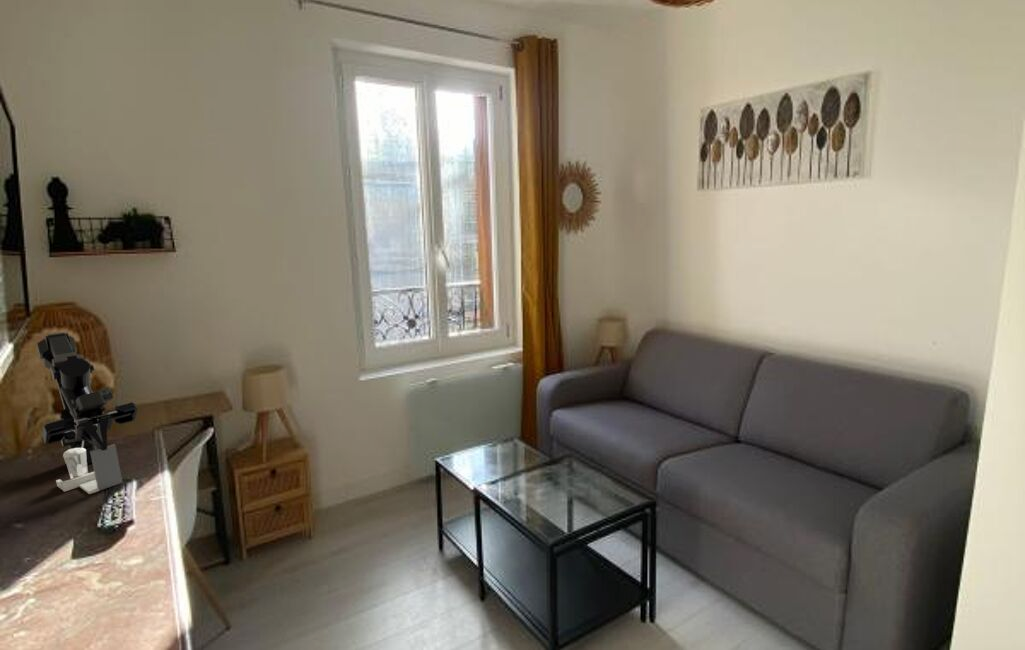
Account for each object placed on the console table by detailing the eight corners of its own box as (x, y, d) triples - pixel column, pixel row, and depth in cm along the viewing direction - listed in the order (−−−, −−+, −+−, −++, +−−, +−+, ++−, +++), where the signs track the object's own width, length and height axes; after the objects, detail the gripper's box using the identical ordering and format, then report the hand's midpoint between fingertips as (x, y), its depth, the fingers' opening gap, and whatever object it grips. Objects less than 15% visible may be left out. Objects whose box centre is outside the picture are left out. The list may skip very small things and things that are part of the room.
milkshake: (99, 476, 143) (91, 440, 141) (81, 486, 138) (73, 449, 136) (82, 477, 143) (75, 440, 141) (64, 486, 138) (56, 449, 136)
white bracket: (57, 486, 138) (48, 448, 137) (104, 470, 146) (96, 434, 144) (74, 499, 131) (65, 459, 129) (122, 482, 138) (115, 444, 137)
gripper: (35, 390, 127) (59, 444, 122) (127, 371, 142) (153, 418, 137) (33, 418, 133) (56, 470, 128) (122, 396, 148) (146, 443, 143)
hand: (105, 449), depth 134 cm, fingers closed, pressing on white bracket
